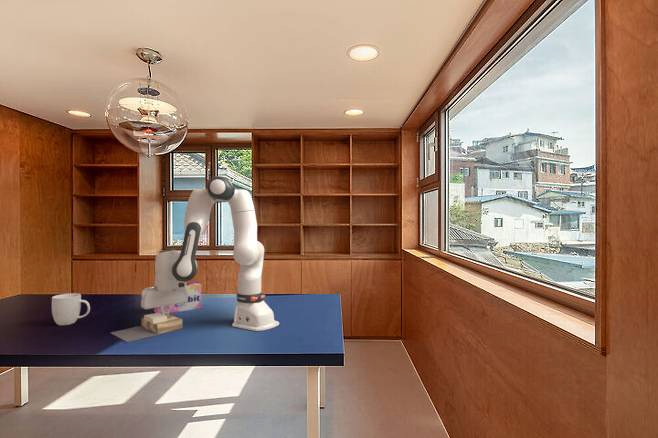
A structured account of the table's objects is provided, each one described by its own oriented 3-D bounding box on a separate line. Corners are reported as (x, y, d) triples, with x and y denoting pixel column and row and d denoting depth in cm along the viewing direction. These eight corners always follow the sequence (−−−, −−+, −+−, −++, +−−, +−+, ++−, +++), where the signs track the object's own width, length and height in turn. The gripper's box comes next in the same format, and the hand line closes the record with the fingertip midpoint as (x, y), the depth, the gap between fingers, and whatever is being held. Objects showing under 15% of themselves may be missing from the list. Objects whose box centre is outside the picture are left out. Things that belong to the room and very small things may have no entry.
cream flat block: (167, 320, 155) (167, 316, 155) (153, 323, 150) (153, 318, 150) (157, 316, 160) (157, 312, 160) (144, 319, 156) (144, 315, 156)
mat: (158, 335, 147) (158, 334, 147) (127, 342, 138) (127, 341, 138) (139, 326, 158) (139, 326, 158) (110, 333, 149) (110, 332, 149)
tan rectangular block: (182, 328, 157) (182, 319, 157) (157, 334, 148) (157, 324, 148) (165, 321, 167) (165, 313, 167) (141, 326, 158) (141, 318, 158)
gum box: (199, 305, 199) (200, 281, 199) (203, 308, 192) (204, 283, 192) (153, 311, 185) (153, 286, 185) (156, 315, 178) (156, 288, 178)
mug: (93, 318, 171) (93, 292, 171) (86, 324, 161) (86, 296, 161) (56, 321, 166) (57, 294, 166) (47, 328, 156) (47, 299, 156)
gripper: (144, 289, 149) (144, 321, 149) (189, 282, 165) (189, 311, 165) (138, 287, 153) (138, 318, 153) (183, 281, 169) (182, 309, 169)
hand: (165, 315), depth 159 cm, fingers closed
